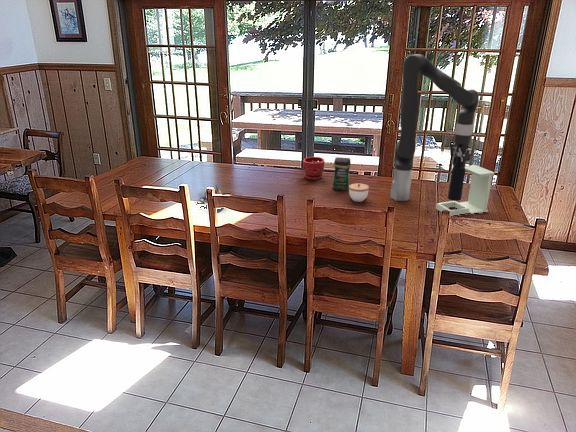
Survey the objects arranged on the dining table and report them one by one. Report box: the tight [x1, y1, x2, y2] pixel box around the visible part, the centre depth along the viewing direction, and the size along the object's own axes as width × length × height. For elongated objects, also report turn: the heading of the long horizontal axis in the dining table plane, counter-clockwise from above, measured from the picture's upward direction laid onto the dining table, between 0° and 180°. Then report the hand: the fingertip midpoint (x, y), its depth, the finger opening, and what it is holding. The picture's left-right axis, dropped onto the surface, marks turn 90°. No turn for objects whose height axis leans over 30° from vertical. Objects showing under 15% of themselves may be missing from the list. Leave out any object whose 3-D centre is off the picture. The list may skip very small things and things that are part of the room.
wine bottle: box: [447, 144, 466, 202], centre depth 224 cm, size 6×6×30 cm
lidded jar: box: [348, 182, 370, 203], centre depth 247 cm, size 11×11×9 cm
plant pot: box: [302, 156, 325, 181], centre depth 282 cm, size 13×13×12 cm
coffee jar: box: [332, 156, 352, 191], centre depth 262 cm, size 10×8×19 cm
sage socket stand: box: [435, 164, 495, 217], centre depth 230 cm, size 22×14×21 cm, turn 109°
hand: (458, 166), depth 223 cm, fingers closed on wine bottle, 5 cm apart
